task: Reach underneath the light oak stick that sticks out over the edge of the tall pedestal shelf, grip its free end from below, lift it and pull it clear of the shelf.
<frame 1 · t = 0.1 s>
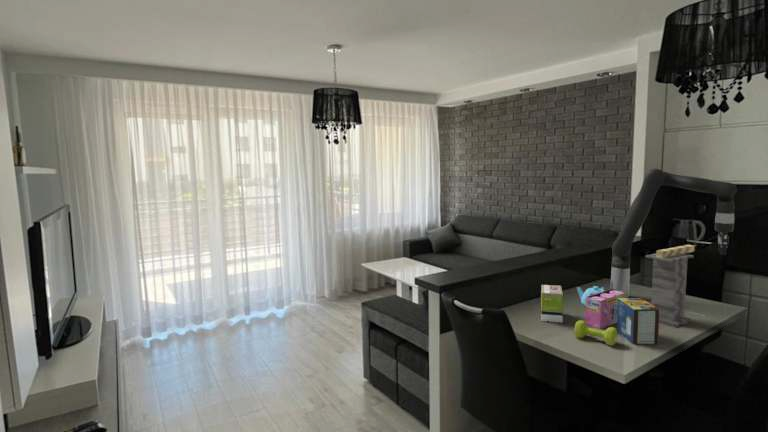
hand: (722, 253, 216), 29 cm above the table, tool pointing down, fingers open, 8 cm apart
teapot: (595, 306, 229), on the table
protein box: (636, 337, 186), on the table
dumbbell: (595, 341, 184), on the table
tea box: (551, 317, 213), on the table
pedestal shelf: (667, 320, 206), on the table
gum box: (606, 322, 206), on the table
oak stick: (675, 254, 204), point 32 cm above the table, touching pedestal shelf
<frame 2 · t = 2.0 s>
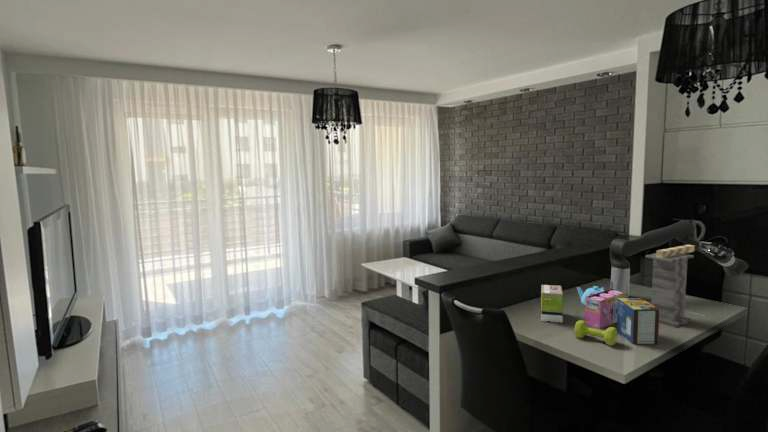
hand: (709, 245, 218), 33 cm above the table, tool pointing upward, fingers open, 8 cm apart
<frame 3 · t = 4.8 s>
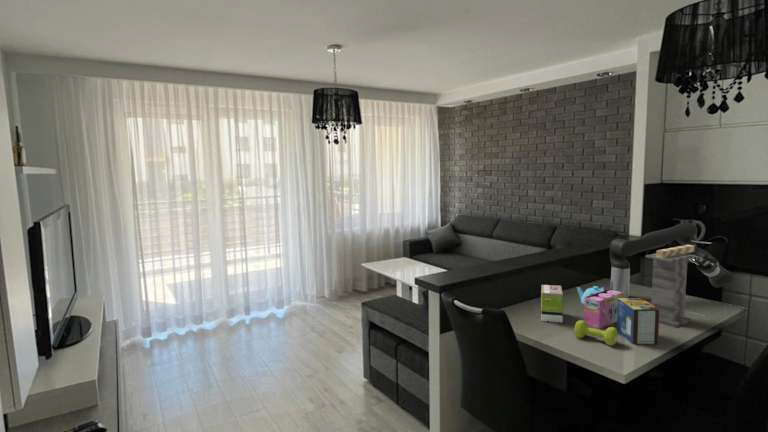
hand: (694, 254, 212), 30 cm above the table, tool pointing upward, fingers open, 8 cm apart
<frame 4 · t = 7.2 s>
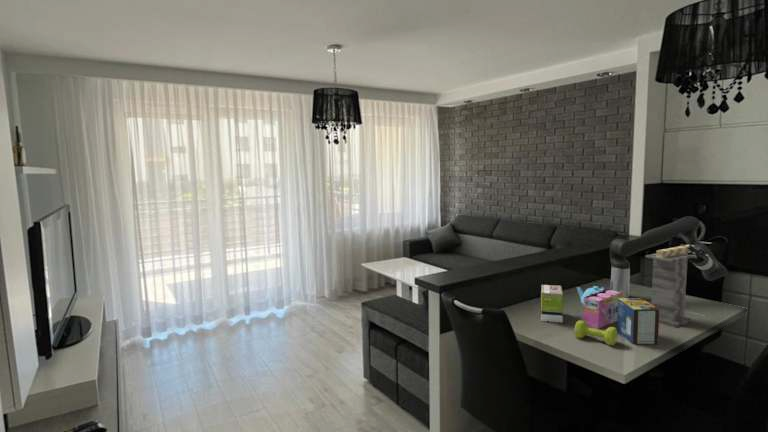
hand: (685, 246, 208), 35 cm above the table, tool pointing upward, fingers closed on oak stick, 3 cm apart
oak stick: (675, 254, 204), point 32 cm above the table, touching gripper, pedestal shelf
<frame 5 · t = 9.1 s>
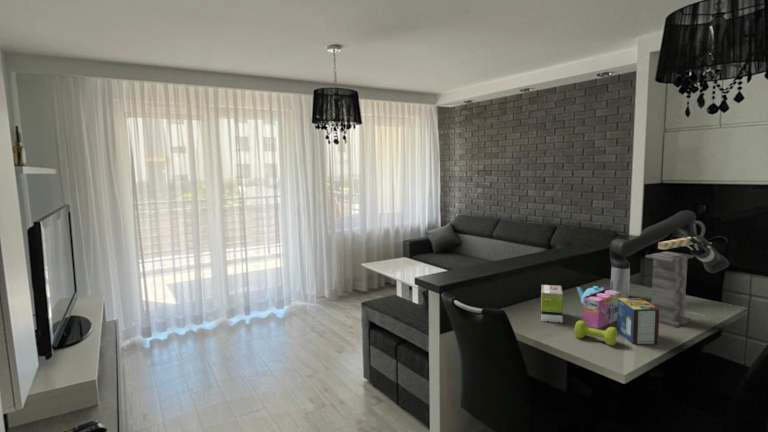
hand: (687, 238, 208), 39 cm above the table, tool pointing upward, fingers closed on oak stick, 3 cm apart
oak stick: (677, 246, 204), point 36 cm above the table, touching gripper
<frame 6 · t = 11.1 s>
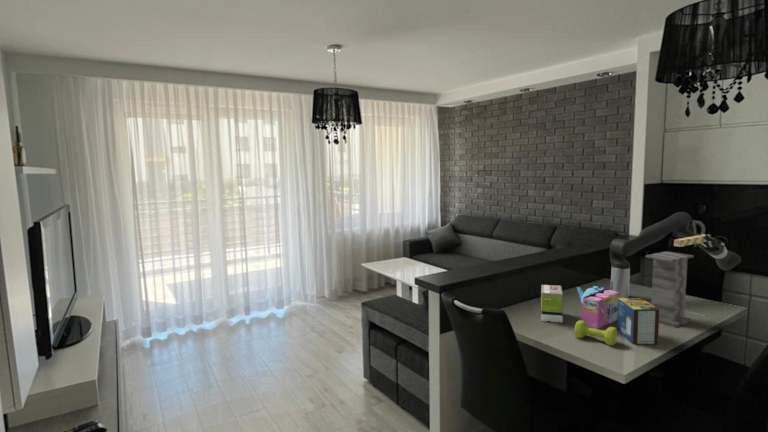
hand: (701, 235, 214), 39 cm above the table, tool pointing upward, fingers closed on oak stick, 3 cm apart
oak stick: (692, 243, 210), point 36 cm above the table, touching gripper
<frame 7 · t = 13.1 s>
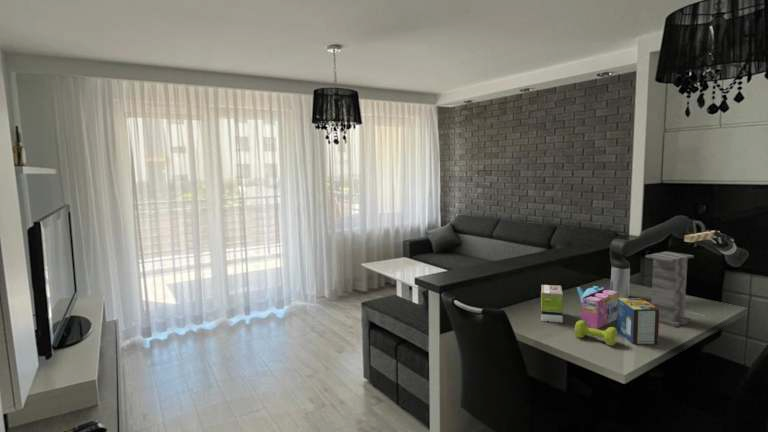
hand: (711, 231, 218), 40 cm above the table, tool pointing upward, fingers closed on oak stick, 3 cm apart
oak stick: (702, 239, 215), point 37 cm above the table, touching gripper
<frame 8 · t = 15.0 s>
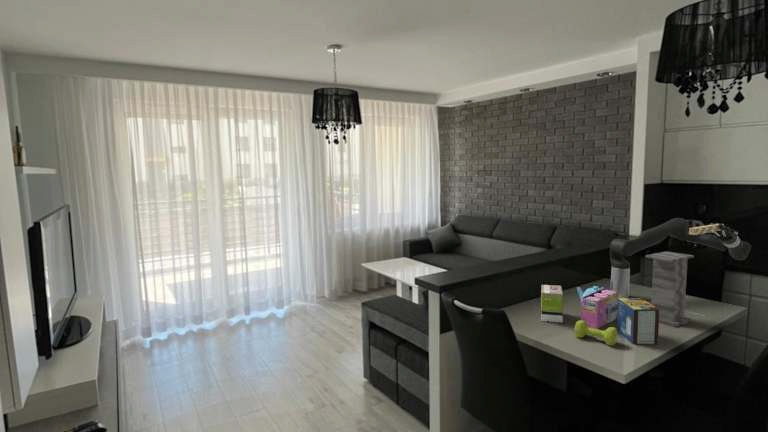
hand: (715, 224, 219), 43 cm above the table, tool pointing upward, fingers closed on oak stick, 3 cm apart
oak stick: (706, 231, 216), point 40 cm above the table, touching gripper
at the end: the gripper is holding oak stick; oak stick touching gripper; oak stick moved 28.3 cm from its start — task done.
